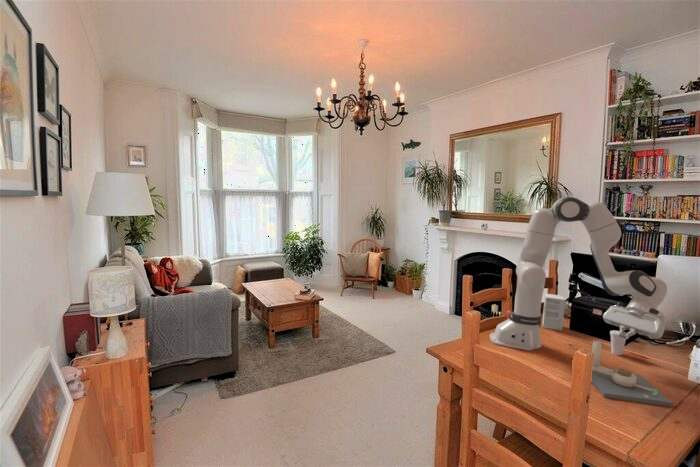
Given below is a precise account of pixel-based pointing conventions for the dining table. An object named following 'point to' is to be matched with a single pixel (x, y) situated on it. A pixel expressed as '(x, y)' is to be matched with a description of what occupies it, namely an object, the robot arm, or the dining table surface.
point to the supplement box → (553, 312)
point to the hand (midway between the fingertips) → (623, 336)
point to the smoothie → (617, 343)
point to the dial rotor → (619, 375)
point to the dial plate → (629, 390)
